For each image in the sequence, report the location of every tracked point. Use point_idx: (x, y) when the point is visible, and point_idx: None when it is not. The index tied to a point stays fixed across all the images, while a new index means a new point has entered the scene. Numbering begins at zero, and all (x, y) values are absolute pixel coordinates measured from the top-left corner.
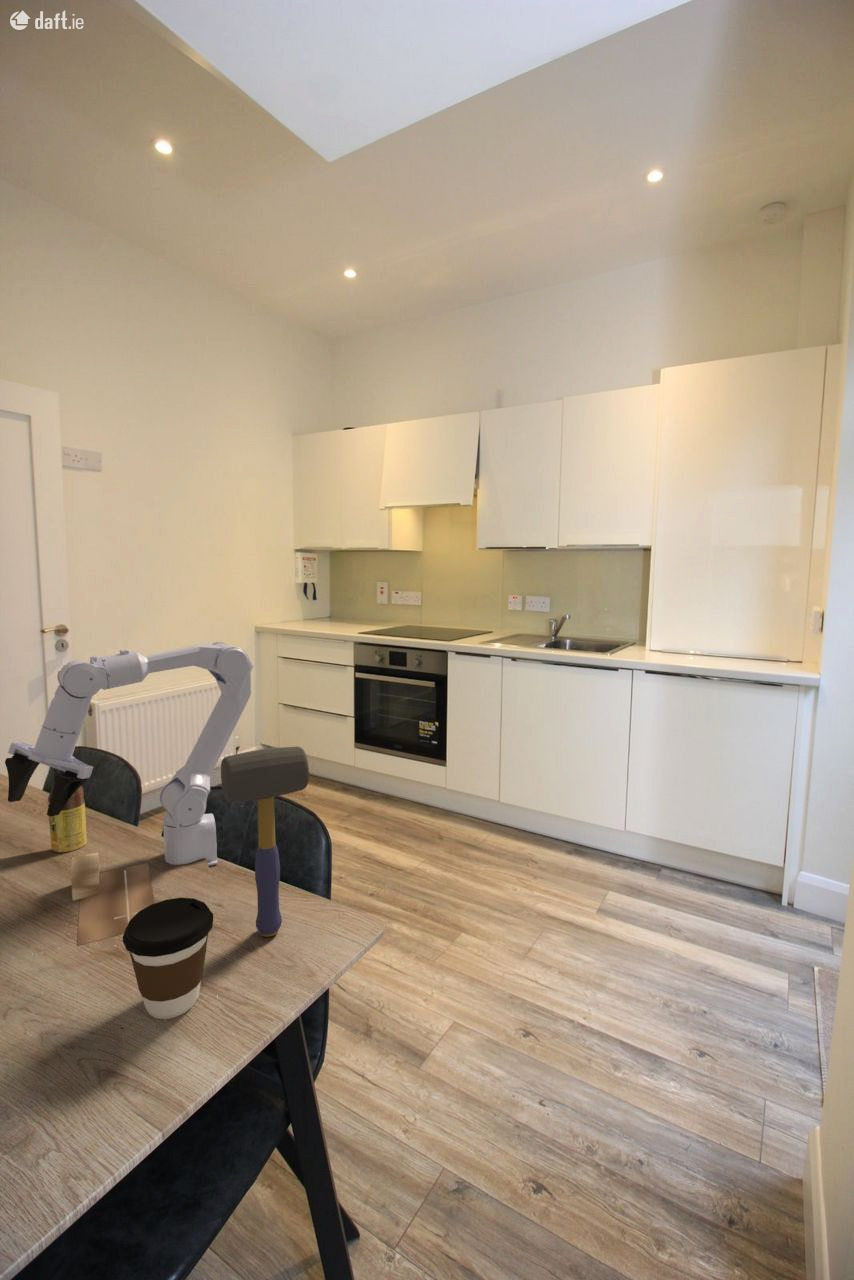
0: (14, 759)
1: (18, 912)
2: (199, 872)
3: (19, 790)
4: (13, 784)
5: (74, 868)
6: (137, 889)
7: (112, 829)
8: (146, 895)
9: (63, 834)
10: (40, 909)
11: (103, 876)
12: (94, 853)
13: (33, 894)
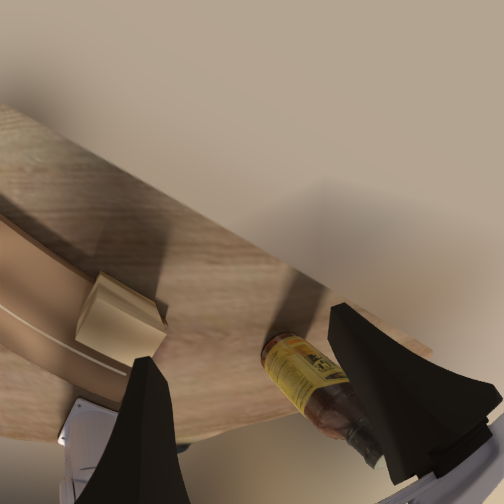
0: (473, 427)
1: (177, 214)
2: (54, 420)
3: (351, 358)
4: (377, 355)
5: (110, 311)
6: (46, 351)
7: (283, 407)
8: (19, 346)
9: (290, 361)
10: (151, 239)
11: None
12: None
13: (211, 259)
